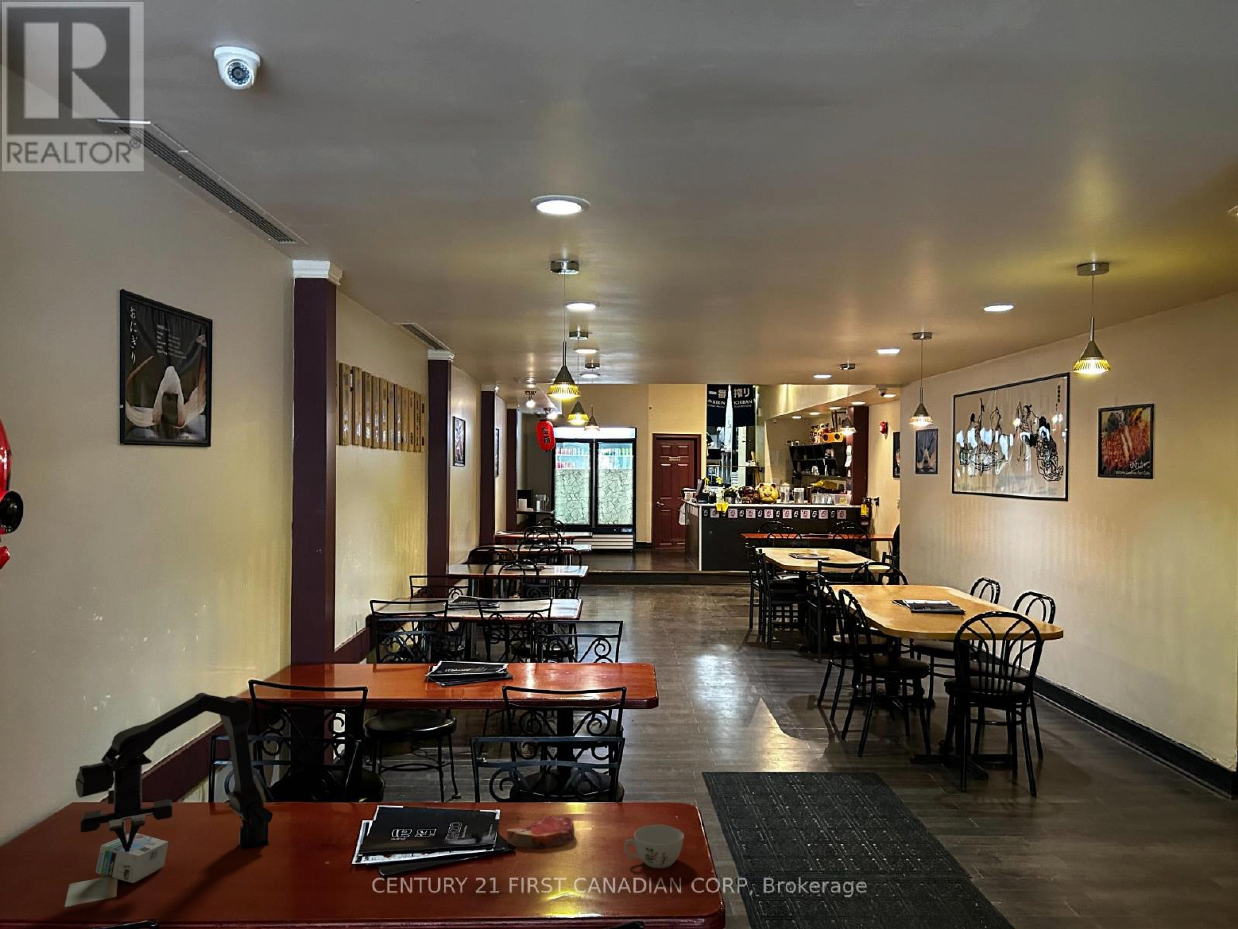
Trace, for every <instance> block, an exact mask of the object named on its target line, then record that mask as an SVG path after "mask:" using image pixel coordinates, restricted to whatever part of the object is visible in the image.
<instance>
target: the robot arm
mask: <svg viewBox="0 0 1238 929" xmlns="http://www.w3.org/2000/svg"><path fill="white" fill-rule="evenodd" d="M251 711H252V707H251V704H250V703H249V702H248V701H246V700H244V699H243V698H240V697H237V696H235V695H229V696H225V697H222V696H217V695H210V694H207V693H205V692H199V693H197V694H196V695H194V697H192V698H190V699H188V700H186V701H184V702H183V703H181V704H179V705H177V706H176V707H174V708H172V709H170V710H169V711H167V712H165V713H163V714H161V715H159V716H158V717H156V718H154V719H152V720H151V721H148V722H146V723H142V724H139V725H135V726H131V727H128V728H126V729H123V730H122V731H119V732H118V733H116V734H115V735H114V736H113V738H112V741H111V745H110V747H109V748H108V749H107V751H106V753H105V754H104V755H103V757H102V758H101V759H100V761H101V762H98V763H93V764H87V765H80V766H79V771H78V772H77V774H76V775H77V776H76V778H75V790H76V794H77V796H78V797H79V798H85V797H89V796H93V795H97V794H101V793H105V792H107V793H108V794H107V805H113V812H111V813H105V814H103V811H102V809H100V810H93V811H85V812H83V814H82V815H81V820H80V833H88V832H95V831H97V830H98V829H100V827H101V824H106V823H108V824H109V828H108V829H109V830H108V831H109V832H114V833H115V834H116V836H117V838H119V839H120V841H121V843H122V846H123V848H124V850H125V852H129V851H130V848H131V845H132V843H133V840H134V837H135V835H136V833H138V831H139V830H140V827H143V826H145V825H146V819H147V817H149V816H153V818H154V820H156V821H159V820H160V821H161V820H166V819H170V818H173V801H172V800H171V799H169V798H168V799H162V800H155V801H153V806H148V807H142V806H143V794H142V792H143V791H142V786H143V785H142V782H143V779H142V777H143V776H142V775H143V773H142V772H143V765H145V766H146V765H148V764H149V765H150V764H151V763H152V762H153V761H152V759H150V758H149V757H147V756H146V754H145V752H147V751H148V750H149V749H151V747H153V745H154V744H155V743H156V742H157V741H158V740H159V739H160V738H162V737H163V736H165V735H166V734H169V733H170V732H172V731H174V730H175V729H177V728H179V727H181V726H182V725H184V724H186V723H187V722H189V721H191V720H193V719H194V718H197V717H198V716H199V715H202V714H204V712H209V713H212V714H217V715H219V718H220V721H221V723H222V725H223V726H224V729H225V731H226V733H227V736H228V742H229V750H230V751H229V752H230V759H231V763H232V764H231V765H232V772H233V779H234V787H233V790H232V791H229V792H227V797H228V801H229V804H228V808H230V809H231V810H232V811H233V813H235V814H236V815H238V818H239V819H241V825H240V826H239V827H238V828H239V829H238V837H239V838H238V843H239V846H241V849H242V850H243V851H246V850H250V849H256V848H260V847H266V846H269V845H270V841H269V823H271V821H272V820H273V815H274V813H273V812H272V811H270V810H269V809H268V808H266V807H265V803H264V800H263V797H262V795H261V792H260V790H259V789H258V787H257V785H256V783H255V779H254V772H253V765H252V756H251V751H250V750H251V749H250V743H249V735H248V730H249V727H250V726H249V725H250V722H251V715H252V714H251ZM112 788H113V789H112ZM110 789H112V790H110ZM129 819H131V820H130V825H129V833H128V834H129V838H128V844H127V837H126V835H127V831H126V822H125V821H126V820H129Z"/></svg>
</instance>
